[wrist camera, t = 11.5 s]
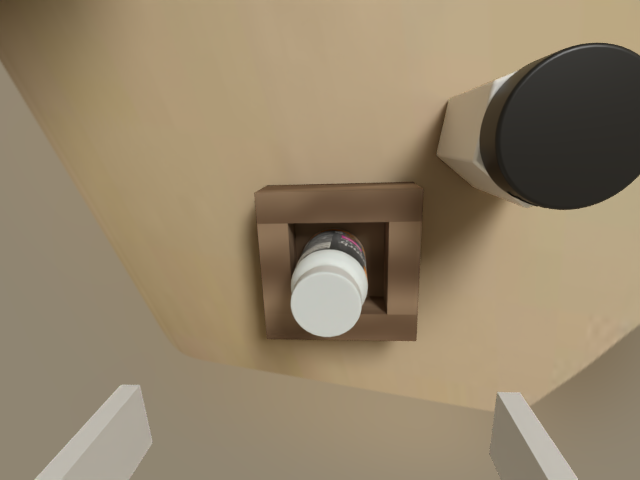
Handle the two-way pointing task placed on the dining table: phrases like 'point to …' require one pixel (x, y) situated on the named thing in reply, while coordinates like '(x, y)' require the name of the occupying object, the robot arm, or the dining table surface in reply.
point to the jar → (550, 129)
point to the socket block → (373, 233)
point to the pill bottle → (329, 283)
